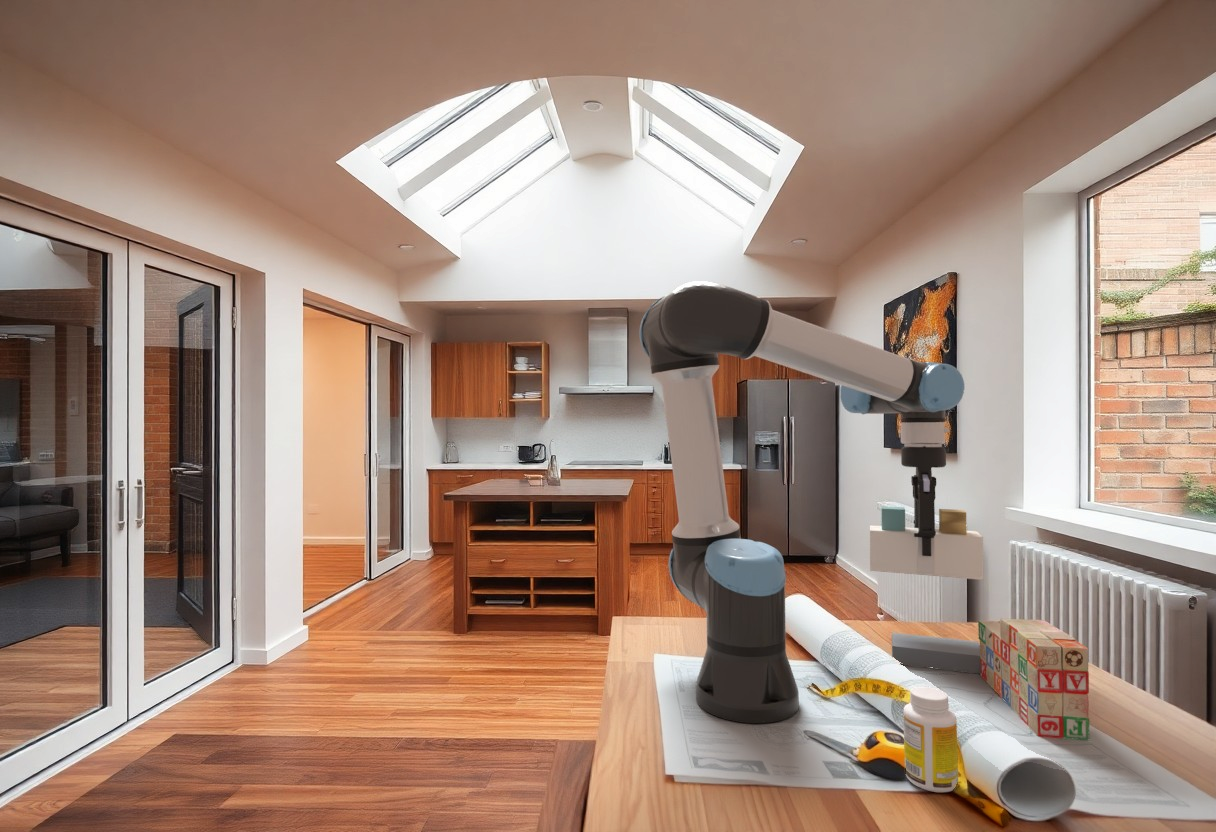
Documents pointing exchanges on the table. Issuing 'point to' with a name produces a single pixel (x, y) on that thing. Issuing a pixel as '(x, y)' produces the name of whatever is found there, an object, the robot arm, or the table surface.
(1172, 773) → the table surface
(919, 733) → the supplement bottle
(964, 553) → the off-white rectangular block
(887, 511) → the teal cube
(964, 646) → the block
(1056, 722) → the stack of blocks
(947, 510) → the golden brown cube
